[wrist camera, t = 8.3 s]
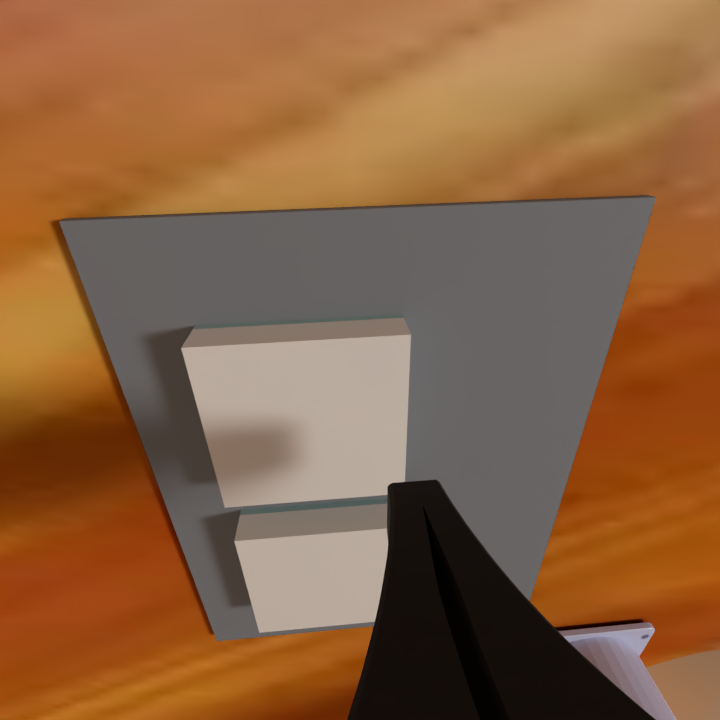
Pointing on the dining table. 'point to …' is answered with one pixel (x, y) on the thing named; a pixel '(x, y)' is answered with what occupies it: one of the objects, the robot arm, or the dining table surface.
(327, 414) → the tile
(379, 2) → the dining table surface
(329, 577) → the tile
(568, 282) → the mat
